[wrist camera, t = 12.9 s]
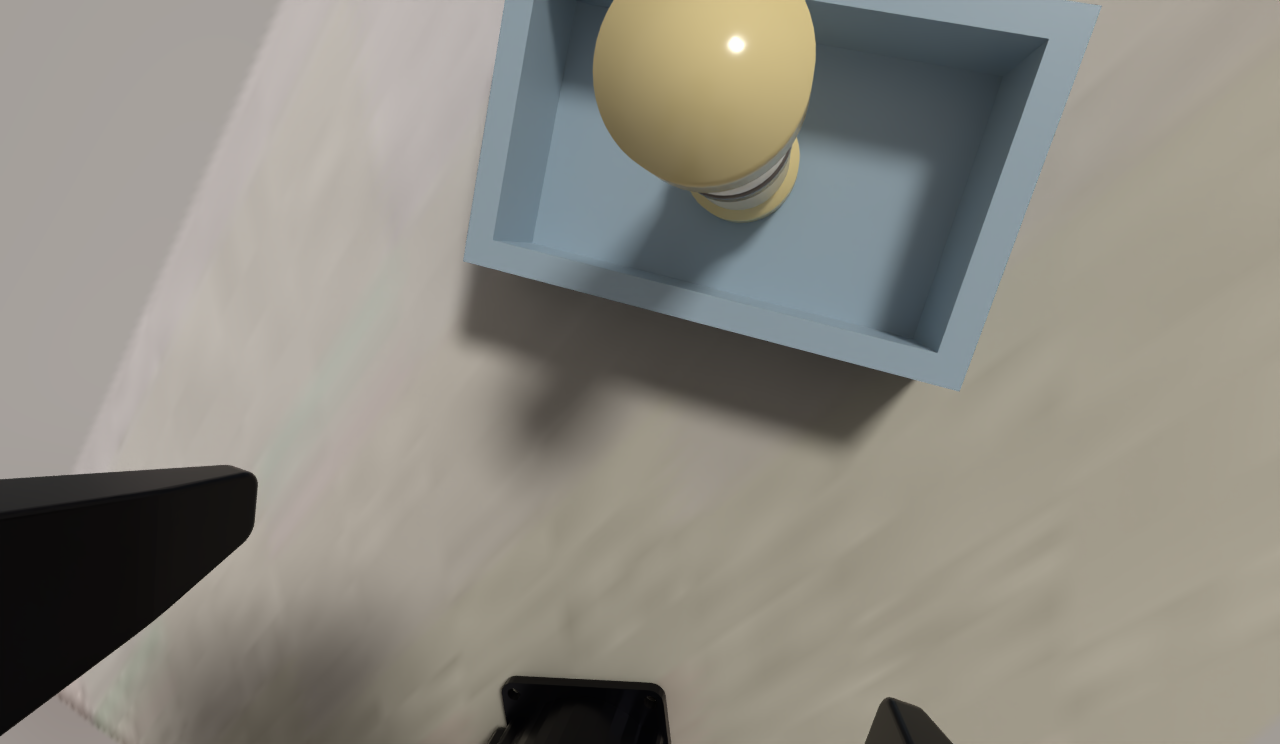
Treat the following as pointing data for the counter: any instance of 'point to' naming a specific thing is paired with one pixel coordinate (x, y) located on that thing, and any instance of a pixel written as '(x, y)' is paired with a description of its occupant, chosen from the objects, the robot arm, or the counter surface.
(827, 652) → the counter surface
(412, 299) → the counter surface
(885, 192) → the parts tray
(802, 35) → the cream rounded piece
